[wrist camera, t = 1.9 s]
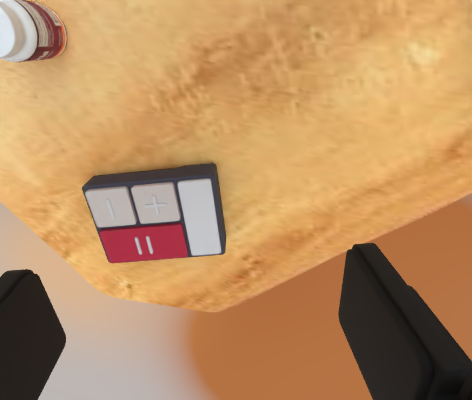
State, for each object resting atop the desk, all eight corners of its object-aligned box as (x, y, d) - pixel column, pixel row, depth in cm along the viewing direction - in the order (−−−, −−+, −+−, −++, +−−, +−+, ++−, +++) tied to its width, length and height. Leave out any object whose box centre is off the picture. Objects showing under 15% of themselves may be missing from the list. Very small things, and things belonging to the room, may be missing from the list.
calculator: (77, 188, 33) (213, 176, 33) (93, 173, 37) (216, 162, 37) (106, 268, 38) (225, 258, 38) (118, 247, 42) (226, 238, 42)
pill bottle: (25, 59, 31) (-36, 64, 23) (9, 3, 29) (-65, -11, 21) (74, 58, 31) (28, 63, 24) (61, 3, 29) (6, -12, 21)
